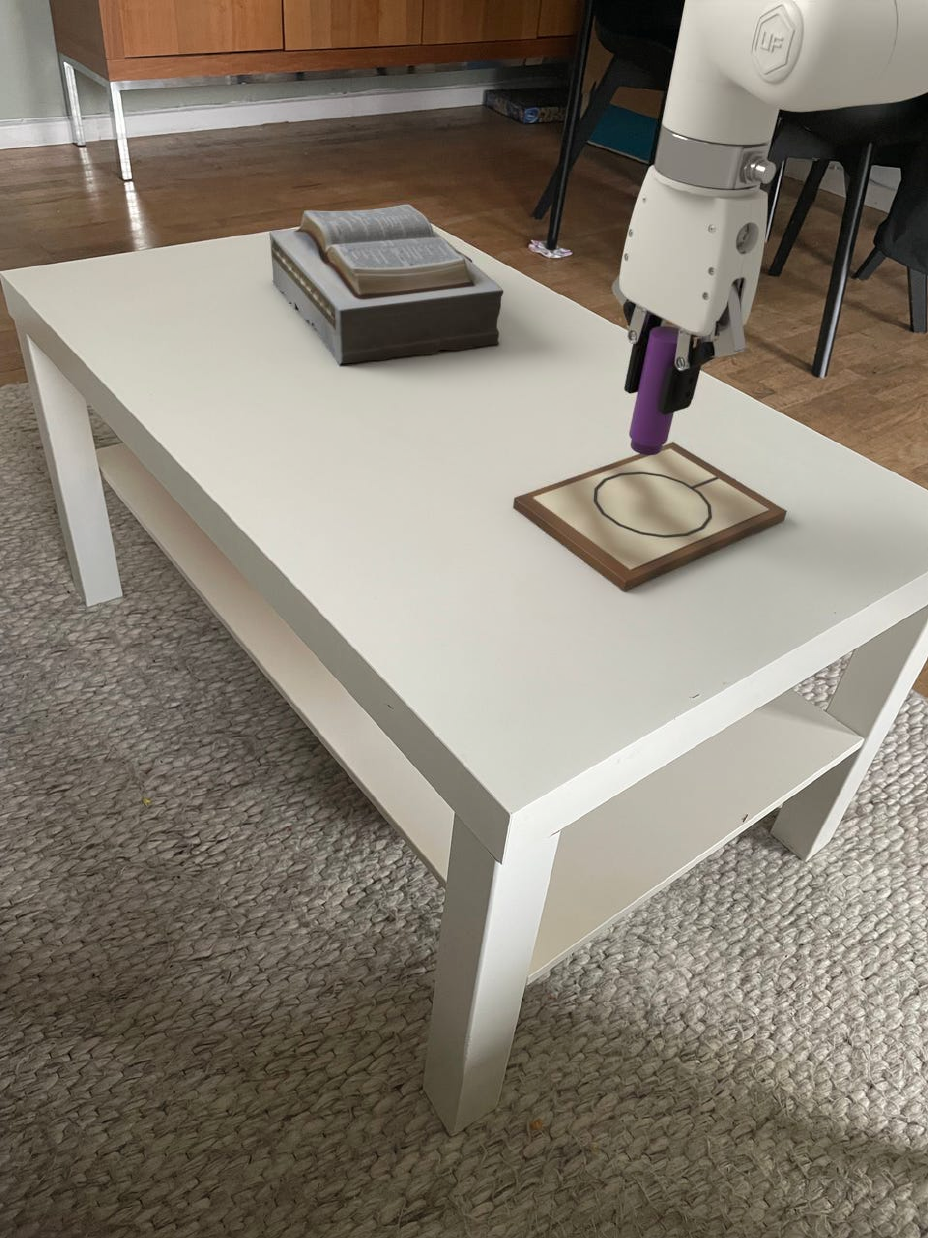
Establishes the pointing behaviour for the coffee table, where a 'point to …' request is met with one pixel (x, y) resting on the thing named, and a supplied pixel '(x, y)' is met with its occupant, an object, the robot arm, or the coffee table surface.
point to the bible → (383, 284)
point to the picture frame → (648, 514)
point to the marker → (653, 393)
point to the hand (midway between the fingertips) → (657, 397)
